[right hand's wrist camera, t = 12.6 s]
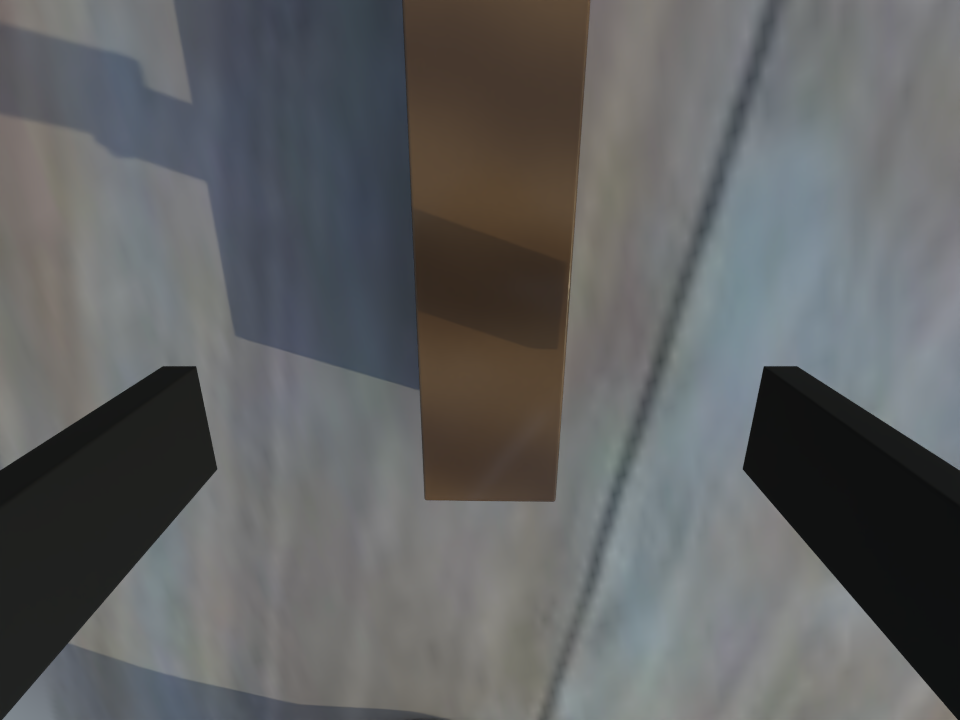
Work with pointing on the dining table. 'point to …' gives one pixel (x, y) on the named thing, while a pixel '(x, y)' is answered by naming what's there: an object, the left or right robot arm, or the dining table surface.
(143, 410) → the right robot arm
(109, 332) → the dining table surface
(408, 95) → the post
